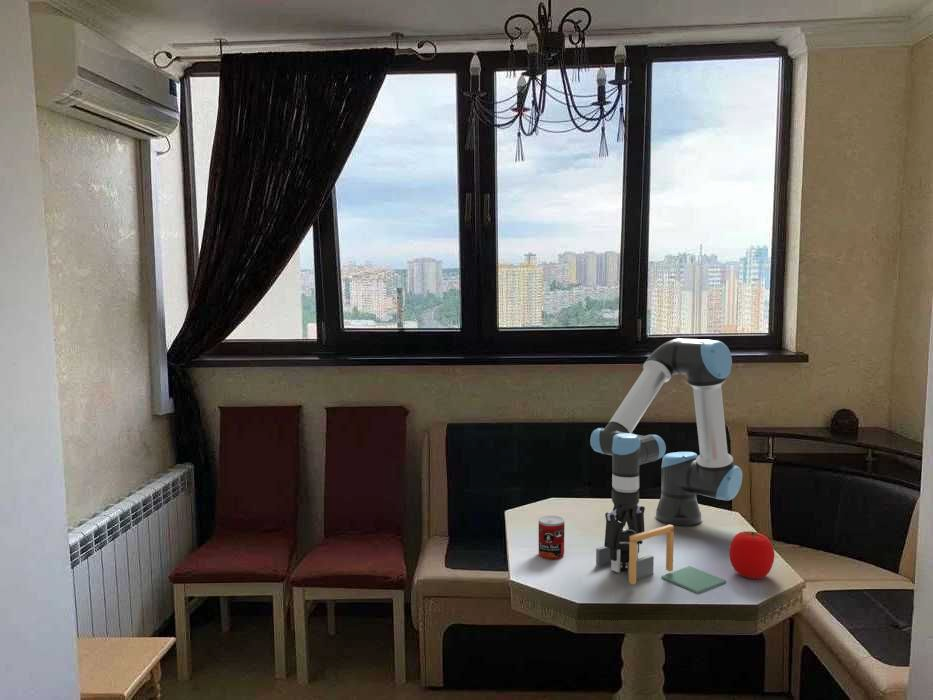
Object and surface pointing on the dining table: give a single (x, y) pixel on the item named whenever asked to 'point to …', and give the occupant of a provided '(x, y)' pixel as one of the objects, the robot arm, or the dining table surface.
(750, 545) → the tomato
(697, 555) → the dining table surface
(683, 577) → the mat
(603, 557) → the clip
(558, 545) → the canned food
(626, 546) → the battery charger
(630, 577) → the arched handle
